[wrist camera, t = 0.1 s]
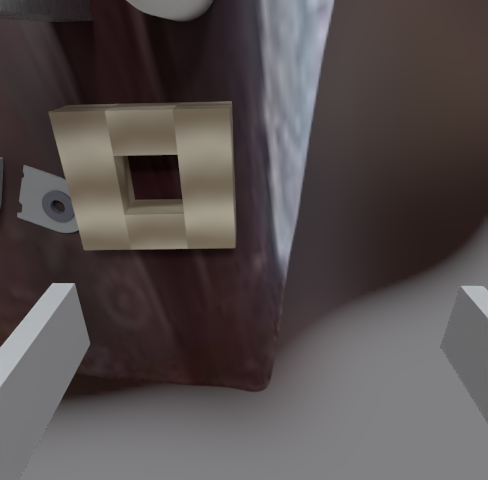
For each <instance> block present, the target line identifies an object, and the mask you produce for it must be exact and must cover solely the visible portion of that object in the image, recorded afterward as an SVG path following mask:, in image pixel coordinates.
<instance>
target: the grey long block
mask: <svg viewBox="0 0 488 480" xmlns="http://www.w3.org/2000/svg"><path fill="white" fill-rule="evenodd" d="M0 18H5V19H17V20H29V21H42V22H69V21H93V17H92V12H91V6H90V1H89V0H0Z"/></svg>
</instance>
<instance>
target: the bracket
mask: <svg viewBox="0 0 488 480" xmlns="http://www.w3.org/2000/svg"><path fill="white" fill-rule="evenodd" d="M3 159H4V158H2V157H1V158H0V207H1V197H2V181H3V165H4V164H3ZM23 173H24V178H22V183H21V190H20V198H19V202H20V203H21V204H22V212H21V213H17V217H18V218H21V219H24V220H27V221H29V222H32V223H35V224H38V225H41V226H43V227H46V228H49V229H52V230H55V231H58V232H62V233H71V232H75V231H78V230H79V229H78V225H77V221H76V217H75V213H74V209H73V206H72V202H71V198H70V194H69V190H68V186H67V182H66V179H64V178H62V177H59V176H56V175H53V174H50V173H47V172H44V171H41V170H38V169H35V168H32V167H29V166H26V165H24V168H23ZM54 200H58V201H60V202H62V203H63V205H64V206H65V211H64V212H61V211H59V210H57V209H56V208H55V207H54Z"/></svg>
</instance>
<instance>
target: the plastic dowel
mask: <svg viewBox="0 0 488 480" xmlns="http://www.w3.org/2000/svg"><path fill="white" fill-rule="evenodd" d="M127 1H128V2H129V3H130V4H131V5H132V6H134V7H135V8H137V9H138V10H140V11H142V12H144V13H147V14H150V15H154V16H158V17H162V18H166V19H170V20H175V21H182V22H184V21H191V20H194V19H196V18H198V17H200V16H201V15H203V14H204V13H205V12H206V11H207V10H208V9H209V7H210V6H211V4H212V2H213V0H127Z"/></svg>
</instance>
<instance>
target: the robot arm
mask: <svg viewBox="0 0 488 480" xmlns="http://www.w3.org/2000/svg"><path fill="white" fill-rule="evenodd" d="M89 345H90V341H89V337H88V333H87V329H86V325H85V322H84V318H83V314H82V310H81V306H80V302H79V298H78V294H77V290H76V287H75V283H52V284H51V286H50V287H49V288H48V289H47V291H46V292H45V293H44V294H43V296H42V297H41V298H40V299H39V301H38V302H37V303H36V304H35V305H34V307H33V308H32V309H31V310H30V312H29V313H28V314H27V315H26V317H25V318H24V319H23V320H22V322H21V323H20V324H19V325H18V326H17V328H16V329H15V330H14V331H13V333H12V334H11V335H10V336H9V338H8V339H7V340H6V341H5V343H4V344H3V345H2V346H1V347H0V480H19V479H20V477H21V475H22V473H23V471H24V469H25V468H26V466H27V464H28V462H29V460H30V458H31V456H32V454H33V452H34V450H35V448H36V447H37V445H38V443H39V441H40V439H41V437H42V435H43V433H44V431H45V429H46V427H47V426H48V423H49V422H50V420H51V418H52V416H53V414H54V412H55V410H56V408H57V406H58V405H59V403H60V401H61V399H62V397H63V395H64V393H65V391H66V389H67V387H68V385H69V383H70V382H71V380H72V378H73V376H74V374H75V372H76V370H77V368H78V366H79V364H80V363H81V361H82V359H83V357H84V355H85V353H86V351H87V349H88V347H89ZM441 349H442V350H443V352H444V353H445V355H446V357H447V358H448V360H449V362H450V363H451V364H452V366H453V368H454V370H455V371H456V373H457V374H458V376H459V378H460V379H461V381H462V382H463V384H464V385H465V387H466V389H467V390H468V392H469V394H470V395H471V397H472V399H473V400H474V402H475V403H476V405H477V407H478V408H479V410H480V411H481V413H482V415H483V416H484V418H485V419H486V421H487V423H488V291H487V290H486V289H485V288H484V286H460V288H459V291H458V295H457V298H456V301H455V304H454V307H453V310H452V313H451V316H450V319H449V322H448V325H447V329H446V332H445V334H444V337H443V341H442V344H441Z"/></svg>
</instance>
